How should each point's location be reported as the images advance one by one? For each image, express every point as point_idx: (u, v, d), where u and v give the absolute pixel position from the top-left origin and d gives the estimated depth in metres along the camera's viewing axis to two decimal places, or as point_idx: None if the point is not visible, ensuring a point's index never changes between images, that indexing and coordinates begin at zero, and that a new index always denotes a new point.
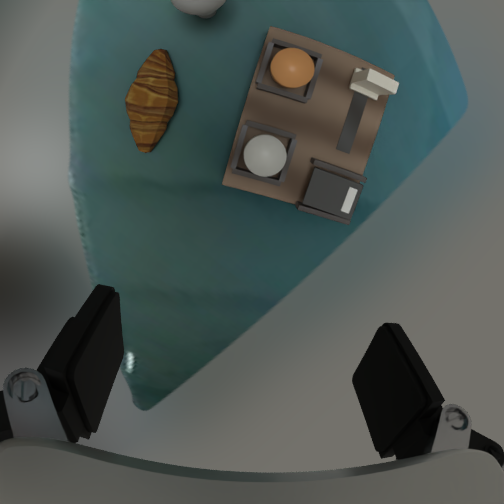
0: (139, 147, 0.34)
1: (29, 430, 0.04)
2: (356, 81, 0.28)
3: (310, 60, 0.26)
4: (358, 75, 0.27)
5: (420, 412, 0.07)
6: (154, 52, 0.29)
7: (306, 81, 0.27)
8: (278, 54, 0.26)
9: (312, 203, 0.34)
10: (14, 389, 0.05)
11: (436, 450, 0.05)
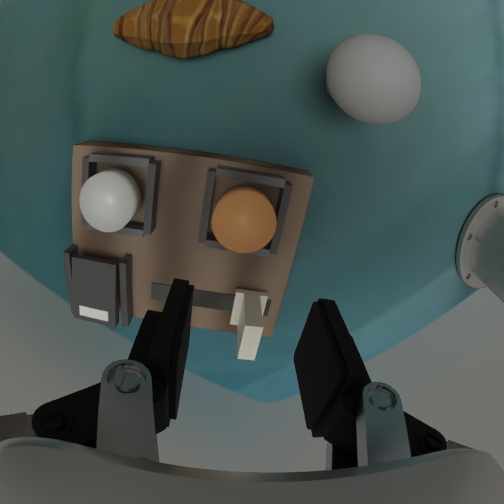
0: (118, 20, 0.17)
1: (118, 419, 0.05)
2: (245, 302, 0.25)
3: (259, 246, 0.21)
4: (253, 305, 0.25)
5: (341, 387, 0.08)
6: (267, 17, 0.18)
7: (224, 244, 0.21)
8: (262, 200, 0.20)
9: (75, 269, 0.23)
10: (114, 377, 0.06)
11: (372, 441, 0.06)
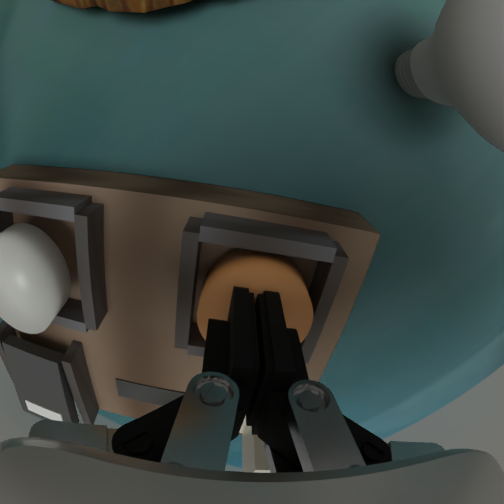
0: None
1: (194, 429, 0.05)
2: None
3: None
4: None
5: (269, 382, 0.07)
6: None
7: None
8: (289, 283, 0.11)
9: (9, 358, 0.13)
10: (201, 387, 0.07)
11: (313, 450, 0.05)
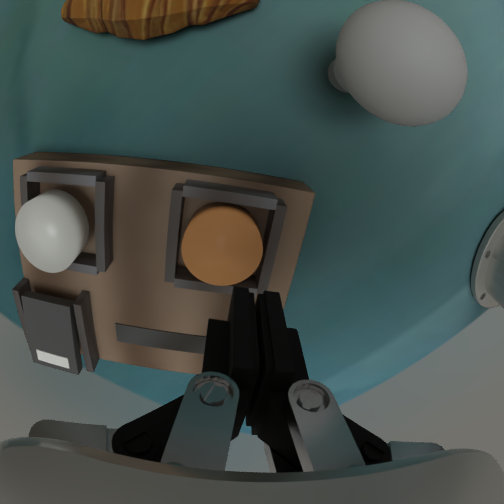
0: (68, 0, 0.11)
1: (194, 429, 0.05)
2: None
3: (242, 277, 0.17)
4: None
5: (269, 382, 0.07)
6: None
7: (199, 276, 0.17)
8: (243, 221, 0.16)
9: (26, 309, 0.17)
10: (201, 387, 0.07)
11: (313, 450, 0.05)
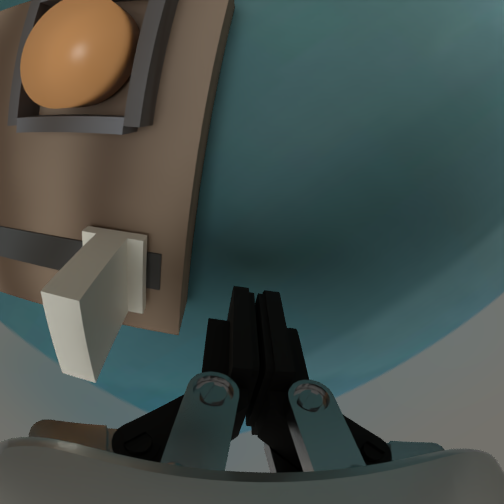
0: None
1: (194, 429, 0.05)
2: (84, 248, 0.10)
3: (91, 86, 0.08)
4: (95, 254, 0.10)
5: (269, 382, 0.07)
6: None
7: (35, 96, 0.07)
8: None
9: None
10: (201, 387, 0.07)
11: (313, 450, 0.05)
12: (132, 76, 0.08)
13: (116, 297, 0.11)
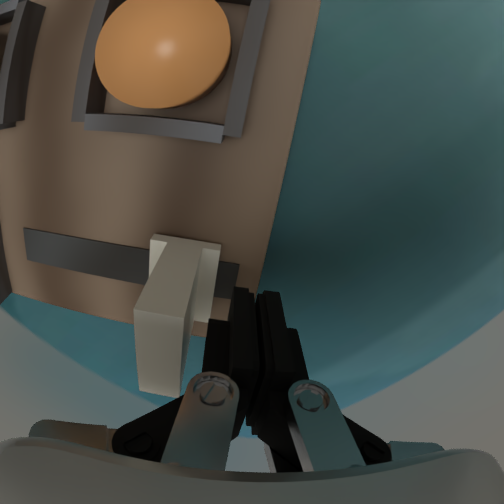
0: None
1: (194, 429, 0.05)
2: (161, 258, 0.10)
3: (191, 89, 0.08)
4: (178, 265, 0.10)
5: (269, 382, 0.07)
6: None
7: (117, 92, 0.08)
8: None
9: None
10: (201, 387, 0.07)
11: (313, 450, 0.05)
12: (234, 84, 0.09)
13: (193, 308, 0.11)
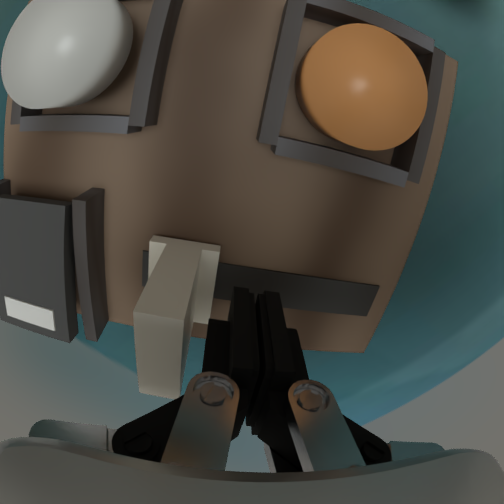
0: None
1: (194, 429, 0.05)
2: (161, 260, 0.10)
3: (398, 138, 0.09)
4: (177, 267, 0.10)
5: (269, 382, 0.07)
6: None
7: (331, 125, 0.09)
8: (403, 47, 0.07)
9: None
10: (201, 387, 0.07)
11: (313, 450, 0.05)
12: (419, 136, 0.09)
13: (192, 310, 0.11)
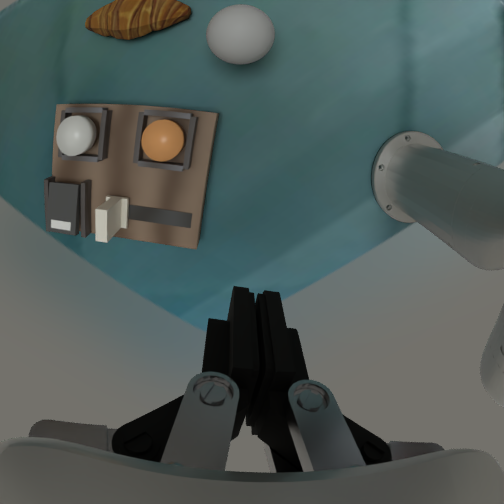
0: (89, 17, 0.24)
1: (194, 429, 0.05)
2: (107, 200, 0.31)
3: (172, 155, 0.29)
4: (111, 202, 0.31)
5: (269, 382, 0.07)
6: (184, 6, 0.25)
7: (149, 155, 0.29)
8: (172, 124, 0.28)
9: (51, 191, 0.30)
10: (201, 387, 0.07)
11: (313, 450, 0.05)
12: (185, 152, 0.30)
13: (117, 218, 0.32)
